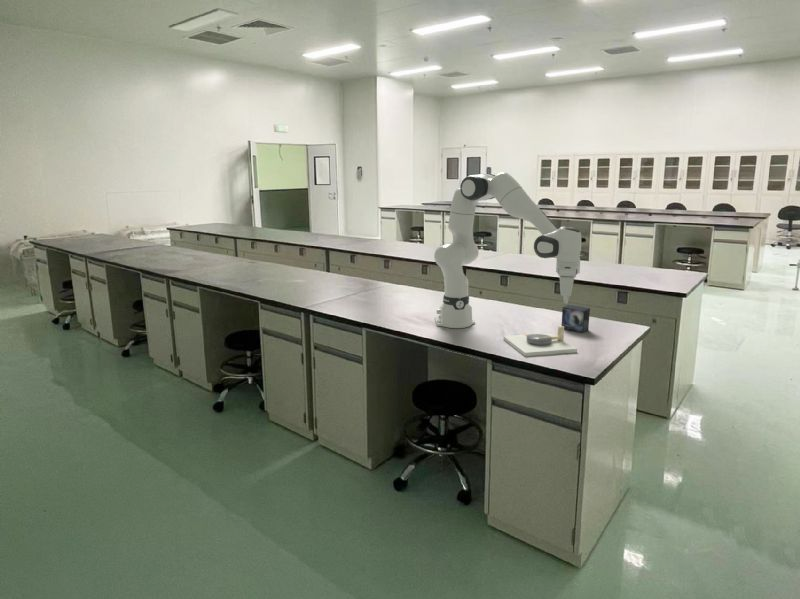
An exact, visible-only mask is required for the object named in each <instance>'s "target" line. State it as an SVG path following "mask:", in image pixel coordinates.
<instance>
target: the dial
mask: <svg viewBox="0 0 800 599" xmlns="http://www.w3.org/2000/svg"><path fill="white" fill-rule="evenodd" d="M530 334H531V333H530ZM554 339H557V340H560V341H562V340H564V339H565V329H564V326H561V325H558V326H557V335H556V336H548V335H543V334H542V333H532V334H531V335H528V336H527V340H526V341H527V342H528V343H531V344H535V345H548V344H551V343H552V340H554Z"/></svg>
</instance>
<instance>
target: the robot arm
mask: <svg viewBox="0 0 800 599" xmlns="http://www.w3.org/2000/svg"><path fill="white" fill-rule="evenodd" d="M493 199H496V201H497V203H499V205H500V207H502V210H504V211H505V213H507V214H508V215H509V216H511V217H513V218H517V219H520V220H525V221H527V222H529V223H531V224H532V226H534V227H535V228H536V230H537V231H538V232H539V233H540V234H541V235H539V236H538V237H536V239H534V243H533V250H534V254H536V256H538V257H539V258H541V259H551V258H555V259H556V266H555V272H556V273H557V275H558V277H559V290H560V296H562V297H563V298H562V300H563V302H562V303H563V304H568V303H569V297H571V296H572V291H573V286H574V281H575V278H576V277H577V275H578V274H580V270H581V258H580V257H581V256H580V255H581V252H582V232H581V231H580V229H579V228H577V227H574V226H568V225H564V226H560V227H559V228H558V227H557V225H555V224H554V223H553V221H552V220H551V219H550V218H549V217H548V216H547V215H546V213H545V212H544V211H543V210H542V209H541V208H540V207H539V206H538V205H537V204H536V202H534V201H533V199H532V198H531V197H530V196H529V195H528V193H527V192H526V190H525V189H524V188H523V187H522V186H521V184H520V183H519V182H518V181H517V180H516V179H515V178H514V177H513V176H512V175H511V174H510V173H508V172H505V171H503V172H499V173H497V174H492V173H489V174H488V173H480V174H471V175H468V176H466V177H465V178H463V179H462V180H461V183H460V186H459V187H458V188H456V190H454V193H453V197H452V199H451V204H450V211H449V219H448V225H447V226H448V229H449V231H450V233H451V234H452V242H450V243H449V242H448V243H445V244H443V245H440V246H439V247H437V248H436V250H435V251H434V262H435V264H436V265H437V266H439V268H440V270H441V272H442V276H443V281H444V282H443V283H444V286H443V287H444V294H443V298H442V304H441V305H440V307H439V309H436V314H437V315H435V316H434V320H435V325H436V326H437V327H442V328H443V327H444V328H450V329H464V328H469V327H470V326H472V325H474V324H476V321H475V320H474V319H473V308H472V306H471V305H470V304H469V303H470V295H469V278H468V277H467V276H466V274H465V273H464V269H463V266H464V265H468V264H471V263H472V262H474V261H476V260H477V258H478V257H479V247H478V246H477V244H476V243H475V240H474V223H475V215H476V214H475V213H476V208H477V204H478V202H480V201H487V200H493Z"/></svg>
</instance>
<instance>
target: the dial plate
mask: <svg viewBox="0 0 800 599" xmlns="http://www.w3.org/2000/svg"><path fill="white" fill-rule="evenodd" d="M541 334H543V335H548V336H557V335H555V334H554V333H552V332H546V333H544V332H542V333H541ZM528 335H531V333H529V334H519V335H518V334H516V335H515V334H514V335H505V336H504V335H503V336H502V337H503V341H505V342H506V343H507V344H508V345H510V346H511V347H512V348H514V350H516V351H517V352H519V353H520V355H522V354H523V355H522V356H524V357H533V356H546V355H559V354H570V353H571V354H572V353H578V348H577V347H575V346H574V345H572V344H570V343H569V342H567V341H565V340H564V339H563V340H562V341H560V340H557V339H554V340H552V343H551V344H548V345H535V344H531V343H528V342H527V341H526V340H527V336H528Z"/></svg>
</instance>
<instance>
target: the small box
mask: <svg viewBox="0 0 800 599" xmlns="http://www.w3.org/2000/svg"><path fill="white" fill-rule="evenodd" d="M590 312H591V308H590V307H586V306H580V305H574V304H567V305H564V306H562V312H561V313H562V314H561V325H560V326H564V330H567V331H570V332H575V333H580V334H583V333H586V332H588V331H590V330H589V328H590V327H589V326H590V324H589V323H590Z"/></svg>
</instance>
